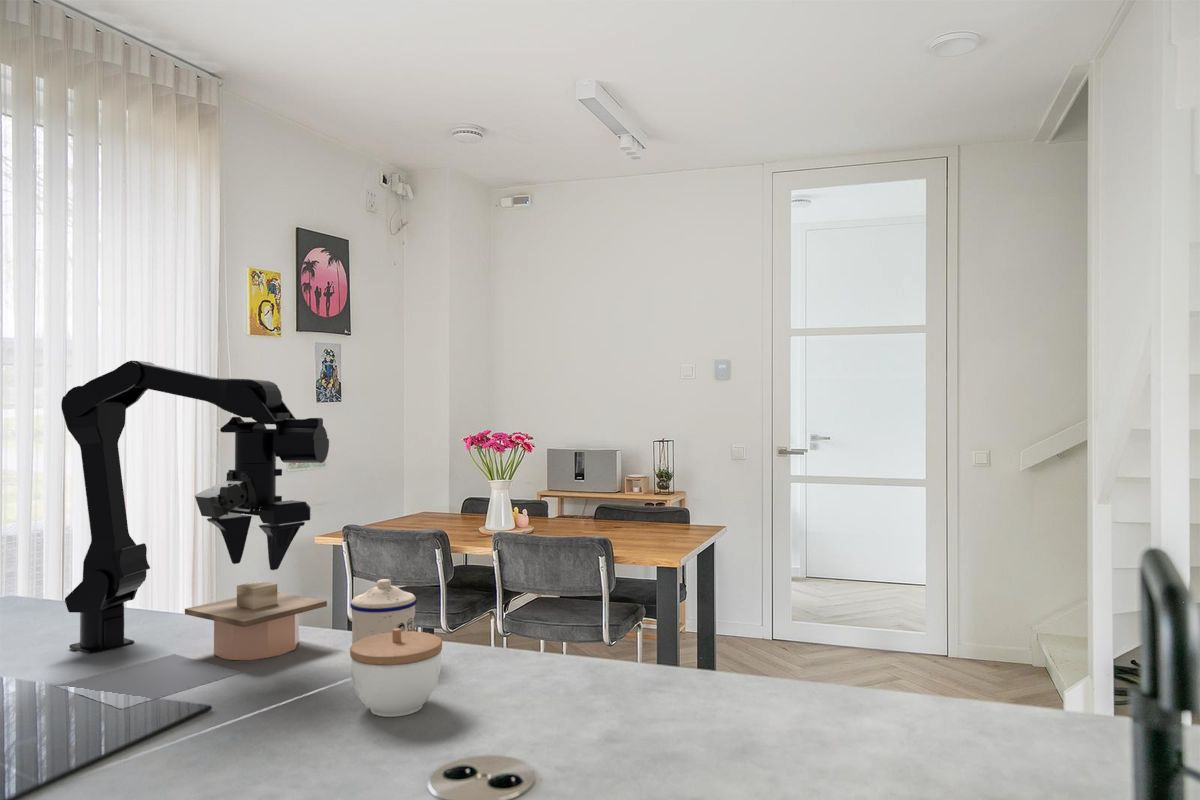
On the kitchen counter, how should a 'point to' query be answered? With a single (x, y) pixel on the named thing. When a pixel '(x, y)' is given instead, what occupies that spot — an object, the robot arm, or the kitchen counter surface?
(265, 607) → the cover
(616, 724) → the kitchen counter surface
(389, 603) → the teacup with lid
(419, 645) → the lidded jar
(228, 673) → the mat
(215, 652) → the bowl
